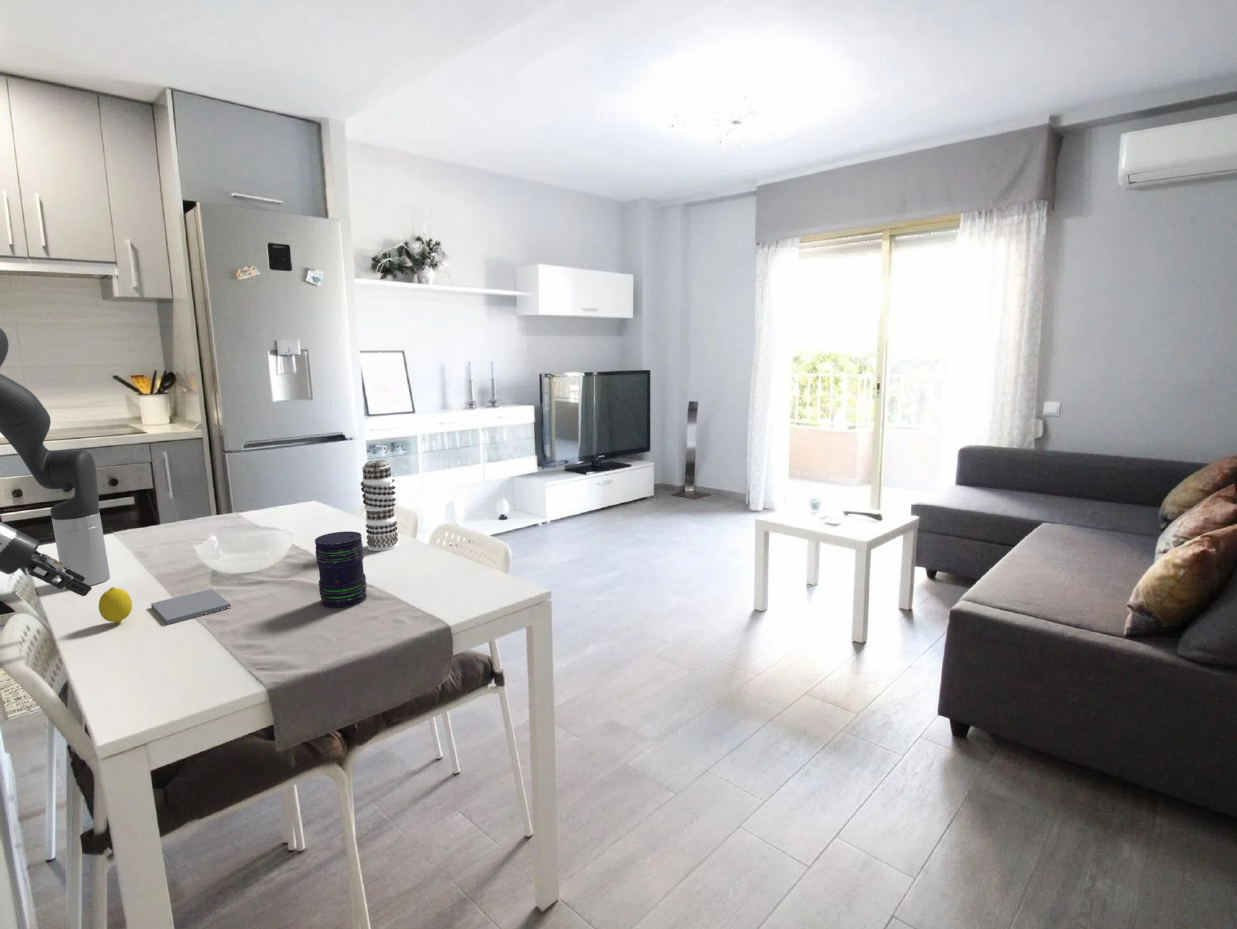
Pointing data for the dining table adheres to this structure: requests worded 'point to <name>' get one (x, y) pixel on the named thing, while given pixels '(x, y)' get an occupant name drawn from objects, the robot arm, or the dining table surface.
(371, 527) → the decorative candle
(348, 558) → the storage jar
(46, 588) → the dining table surface
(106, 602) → the lemon
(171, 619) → the mat
